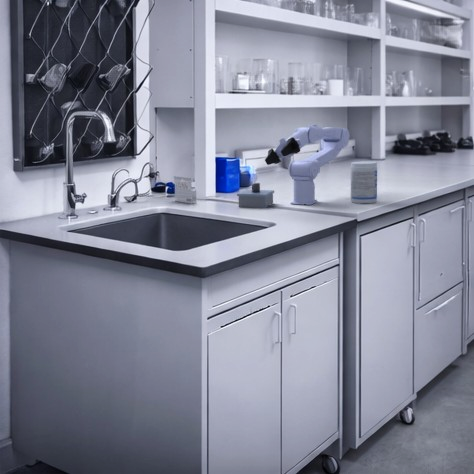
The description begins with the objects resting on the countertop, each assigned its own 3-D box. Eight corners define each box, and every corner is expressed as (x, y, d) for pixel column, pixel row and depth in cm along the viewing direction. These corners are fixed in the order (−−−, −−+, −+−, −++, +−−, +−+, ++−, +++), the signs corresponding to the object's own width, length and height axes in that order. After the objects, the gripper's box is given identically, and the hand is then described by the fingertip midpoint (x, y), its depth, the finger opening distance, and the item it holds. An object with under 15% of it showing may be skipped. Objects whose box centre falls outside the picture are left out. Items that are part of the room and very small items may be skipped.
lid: (246, 191, 256) (246, 181, 255) (274, 192, 252) (274, 181, 251) (237, 195, 246) (236, 184, 245) (265, 196, 242) (265, 185, 241)
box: (247, 202, 256) (247, 191, 255) (273, 203, 253) (272, 192, 252) (238, 206, 247) (238, 195, 246) (264, 207, 244) (264, 196, 243)
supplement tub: (380, 203, 247) (381, 163, 244) (356, 204, 245) (356, 164, 242) (370, 199, 256) (371, 160, 253) (346, 201, 254) (347, 161, 251)
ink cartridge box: (179, 200, 266) (178, 175, 264) (197, 203, 258) (196, 177, 256) (174, 201, 264) (173, 176, 262) (191, 204, 256) (190, 178, 254)
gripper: (273, 142, 245) (254, 156, 236) (302, 125, 235) (283, 139, 226) (283, 159, 246) (264, 173, 236) (313, 143, 236) (294, 157, 227)
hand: (274, 157), depth 231 cm, fingers open, 7 cm apart
